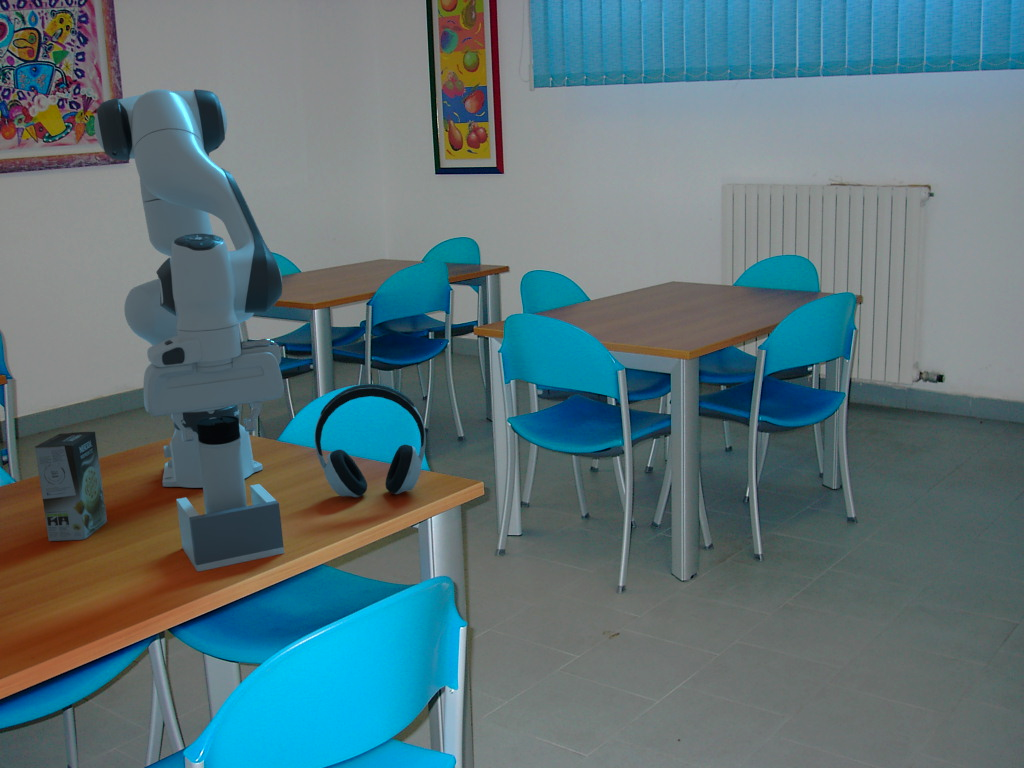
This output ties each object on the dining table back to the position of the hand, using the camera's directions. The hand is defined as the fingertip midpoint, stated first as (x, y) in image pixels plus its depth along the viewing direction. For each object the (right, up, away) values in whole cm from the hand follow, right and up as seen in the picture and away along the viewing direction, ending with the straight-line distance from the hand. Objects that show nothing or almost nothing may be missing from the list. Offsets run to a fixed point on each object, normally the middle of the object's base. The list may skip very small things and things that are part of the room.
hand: (219, 435), depth 164 cm
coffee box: (-28, -17, +17) cm, 37 cm away
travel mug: (0, -16, +6) cm, 17 cm away
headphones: (+20, -12, +28) cm, 36 cm away
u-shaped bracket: (+1, -18, +4) cm, 18 cm away
